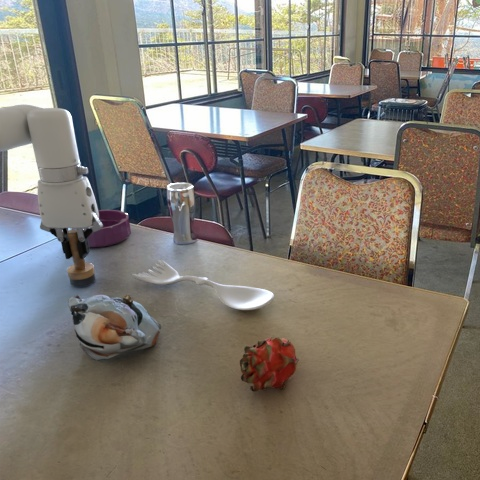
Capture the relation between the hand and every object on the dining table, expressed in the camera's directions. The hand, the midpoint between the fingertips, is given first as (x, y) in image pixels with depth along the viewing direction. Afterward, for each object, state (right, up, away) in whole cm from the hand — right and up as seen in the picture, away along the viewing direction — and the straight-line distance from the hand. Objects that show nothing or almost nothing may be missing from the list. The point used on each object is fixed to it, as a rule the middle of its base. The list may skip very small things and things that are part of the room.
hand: (77, 255), depth 103 cm
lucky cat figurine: (+17, -16, -17) cm, 29 cm away
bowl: (-6, +4, +25) cm, 26 cm away
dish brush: (0, -6, +3) cm, 6 cm away
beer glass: (+16, +3, +26) cm, 30 cm away
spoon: (+27, -8, 0) cm, 29 cm away
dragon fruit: (+44, -20, -25) cm, 54 cm away
